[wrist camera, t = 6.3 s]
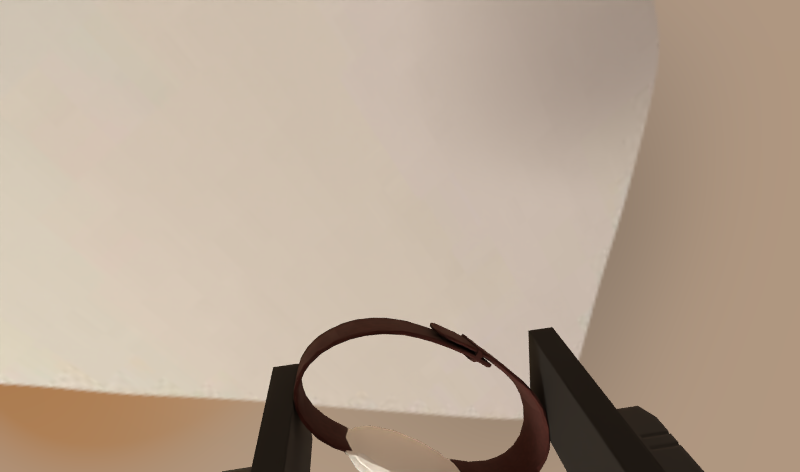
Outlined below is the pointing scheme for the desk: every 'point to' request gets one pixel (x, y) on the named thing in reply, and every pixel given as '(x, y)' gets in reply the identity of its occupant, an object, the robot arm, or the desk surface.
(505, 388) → the desk surface
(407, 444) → the watch
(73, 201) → the desk surface
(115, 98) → the desk surface
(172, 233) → the desk surface
